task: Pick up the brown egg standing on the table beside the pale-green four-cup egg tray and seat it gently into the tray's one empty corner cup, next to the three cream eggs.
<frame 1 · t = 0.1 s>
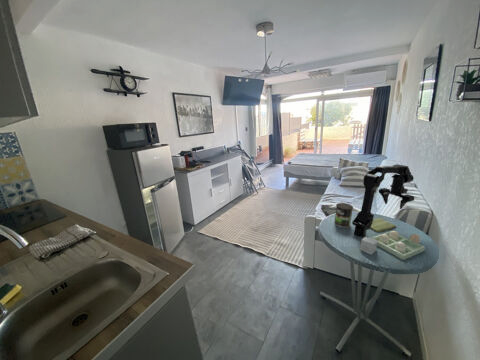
hand: (393, 206, 132), 15 cm above the table, fingers open, 9 cm apart
brown egg: (413, 243, 117), on the table
egg tray: (395, 247, 114), on the table
skincare box: (367, 251, 112), on the table
washcloth: (378, 227, 136), on the table
egg b: (392, 240, 119), point 1 cm above the table, touching egg tray
egg a: (383, 243, 116), point 1 cm above the table, touching egg tray
coffee can: (342, 224, 141), on the table
egg c: (399, 252, 109), point 1 cm above the table, touching egg tray
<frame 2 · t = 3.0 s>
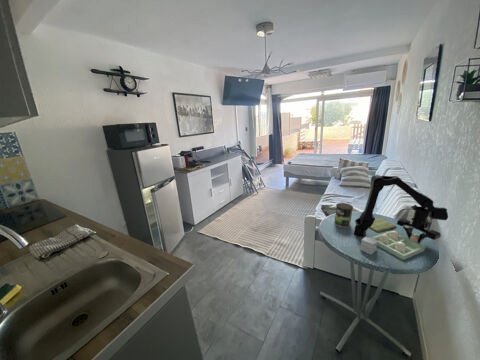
hand: (414, 241, 116), 2 cm above the table, fingers closed on brown egg, 4 cm apart
brown egg: (413, 243, 117), on the table, touching gripper
everything else where it was.
when the fingers open (4 cm above the table, at t = 7.7 s): brown egg drops 2 cm, resting on egg tray.
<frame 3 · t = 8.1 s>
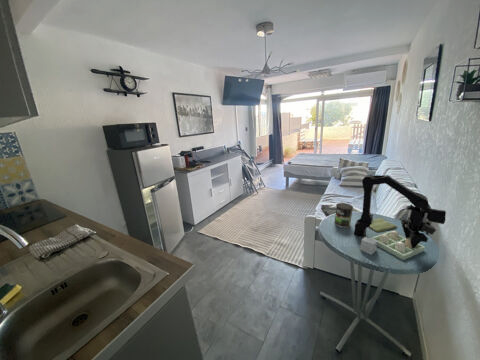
hand: (410, 243, 111), 4 cm above the table, fingers open, 8 cm apart
brown egg: (408, 248, 112), point 1 cm above the table, touching egg tray
everything else where it was.
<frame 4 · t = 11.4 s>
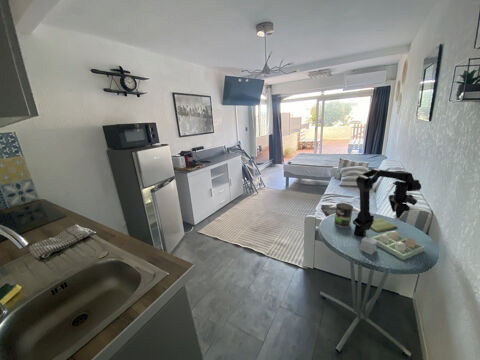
hand: (395, 214, 125), 12 cm above the table, fingers open, 9 cm apart
nothing on the table moved.
at the end: brown egg 0.1 cm from the target spot on the egg tray, point 0.8 cm above the egg tray's base; brown egg tilted 0°; the gripper is holding nothing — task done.
